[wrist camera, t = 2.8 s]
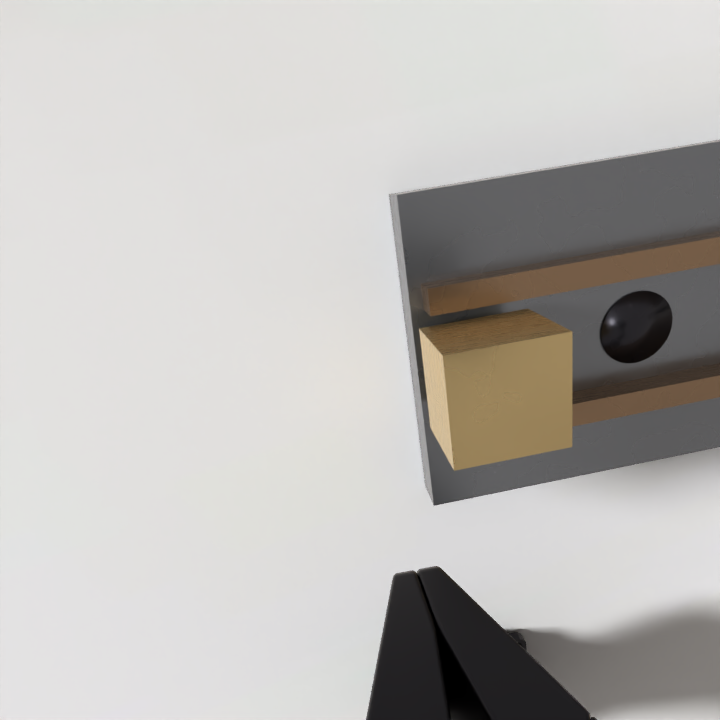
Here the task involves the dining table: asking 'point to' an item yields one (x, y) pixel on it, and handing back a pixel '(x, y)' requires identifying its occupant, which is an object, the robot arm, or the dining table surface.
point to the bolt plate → (580, 300)
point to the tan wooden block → (498, 387)
